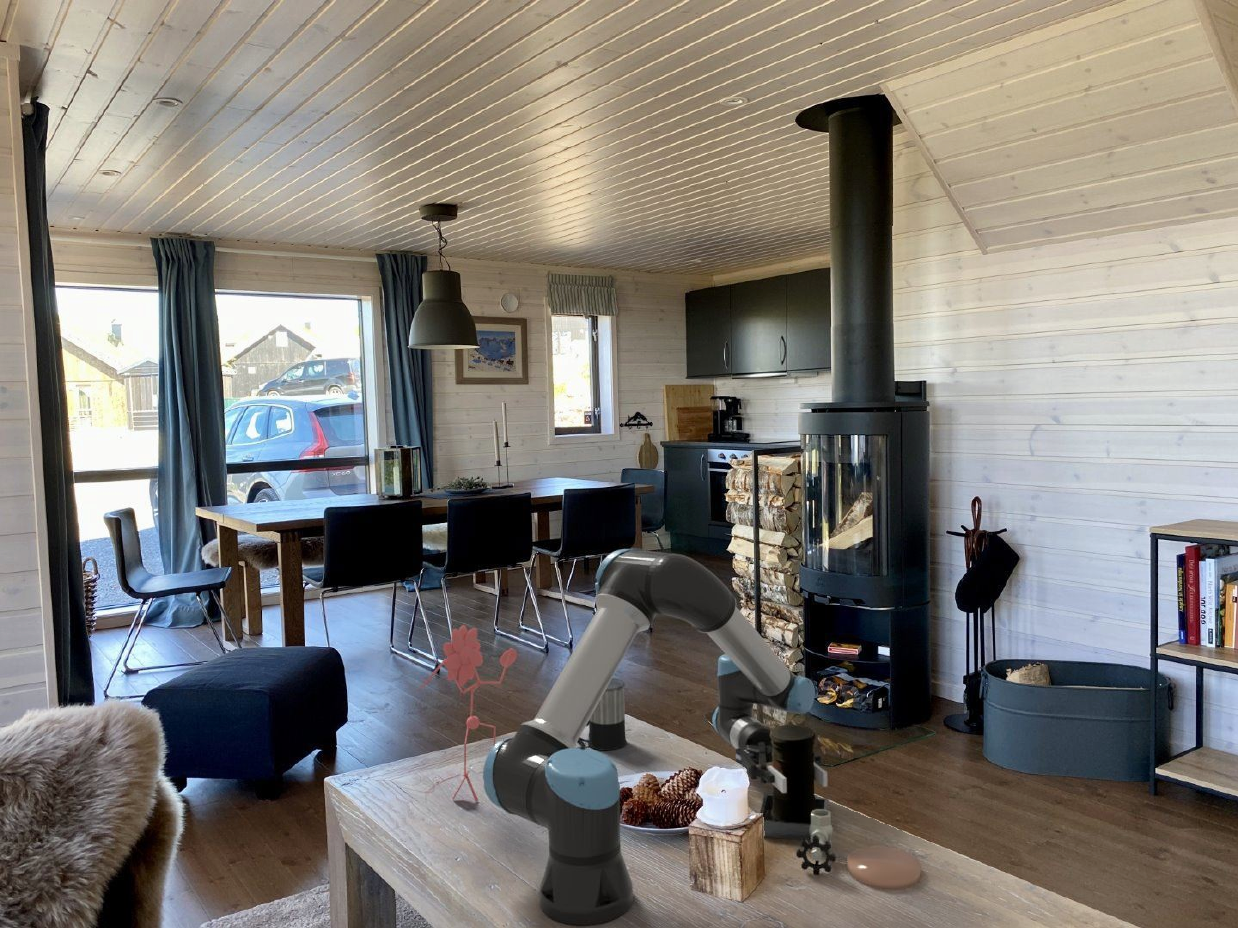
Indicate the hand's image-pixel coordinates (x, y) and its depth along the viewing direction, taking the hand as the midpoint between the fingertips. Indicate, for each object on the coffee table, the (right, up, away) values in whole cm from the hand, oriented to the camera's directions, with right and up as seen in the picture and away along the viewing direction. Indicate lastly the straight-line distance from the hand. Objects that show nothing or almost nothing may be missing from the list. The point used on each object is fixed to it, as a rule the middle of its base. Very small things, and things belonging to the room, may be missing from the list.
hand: (805, 782), depth 172 cm
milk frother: (-41, -9, +49) cm, 64 cm away
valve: (+1, -11, -8) cm, 14 cm away
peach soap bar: (+11, -11, -13) cm, 20 cm away
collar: (-1, -10, +5) cm, 11 cm away
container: (-1, -10, +5) cm, 11 cm away
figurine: (-67, -11, +27) cm, 73 cm away
